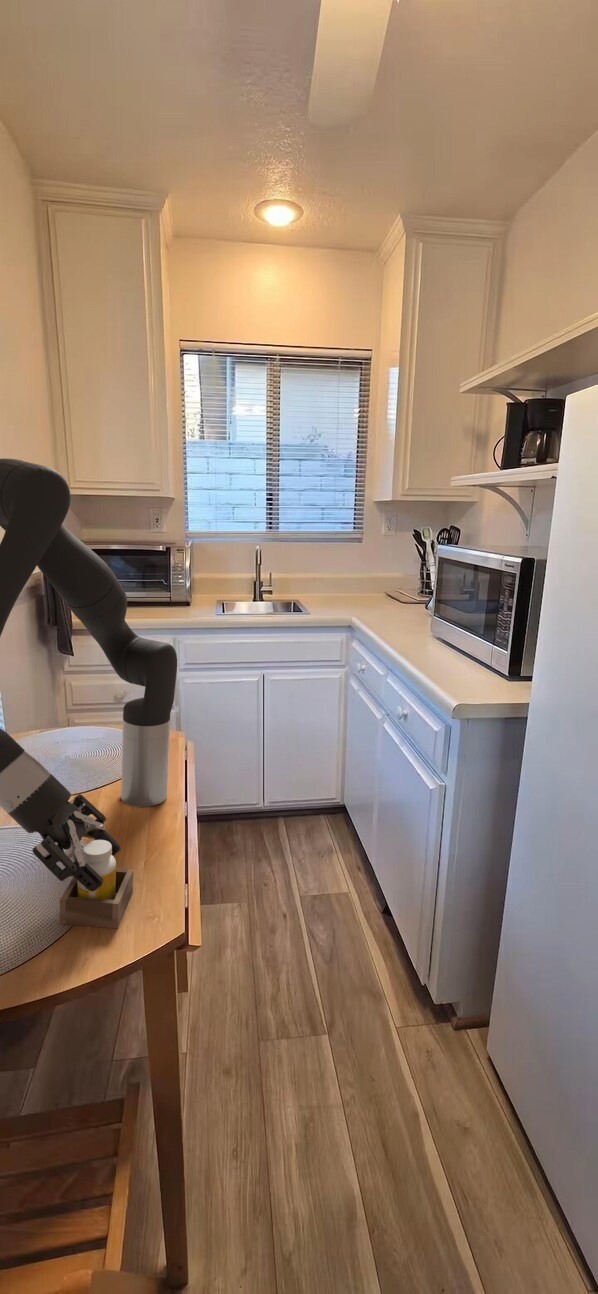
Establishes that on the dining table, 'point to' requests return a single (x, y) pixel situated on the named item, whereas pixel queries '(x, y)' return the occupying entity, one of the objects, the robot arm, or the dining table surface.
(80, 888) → the supplement bottle
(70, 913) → the holder
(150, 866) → the dining table surface
